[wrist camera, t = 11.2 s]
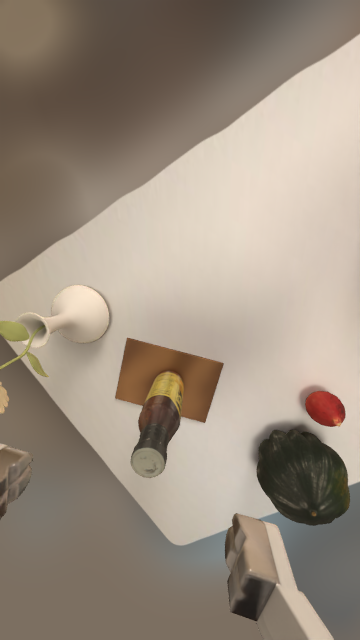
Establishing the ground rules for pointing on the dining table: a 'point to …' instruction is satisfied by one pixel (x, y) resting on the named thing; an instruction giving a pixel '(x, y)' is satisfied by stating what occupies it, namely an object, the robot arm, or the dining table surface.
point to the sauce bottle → (158, 424)
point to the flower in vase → (58, 325)
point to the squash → (303, 477)
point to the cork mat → (152, 360)
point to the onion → (325, 408)
